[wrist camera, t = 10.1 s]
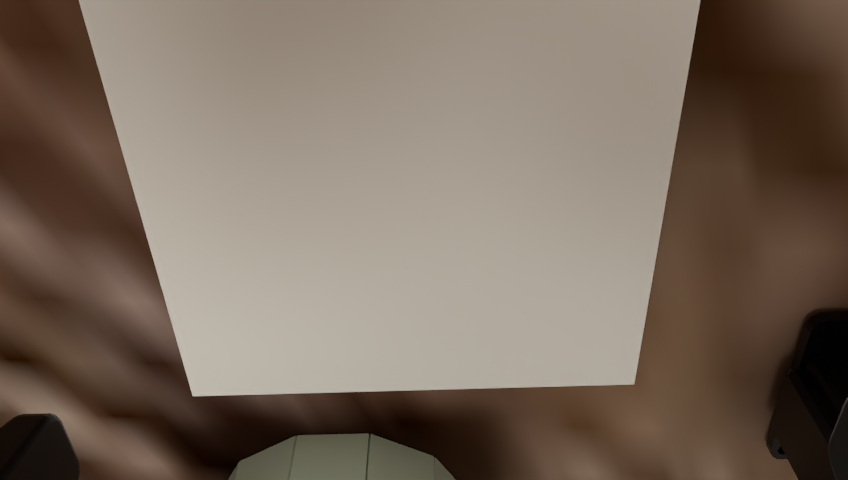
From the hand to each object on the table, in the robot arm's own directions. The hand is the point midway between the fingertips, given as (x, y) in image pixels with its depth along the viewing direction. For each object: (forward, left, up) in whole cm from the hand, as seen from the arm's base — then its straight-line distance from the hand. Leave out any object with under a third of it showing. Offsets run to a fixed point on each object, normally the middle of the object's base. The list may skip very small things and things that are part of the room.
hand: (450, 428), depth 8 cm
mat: (+1, +4, -12) cm, 13 cm away
